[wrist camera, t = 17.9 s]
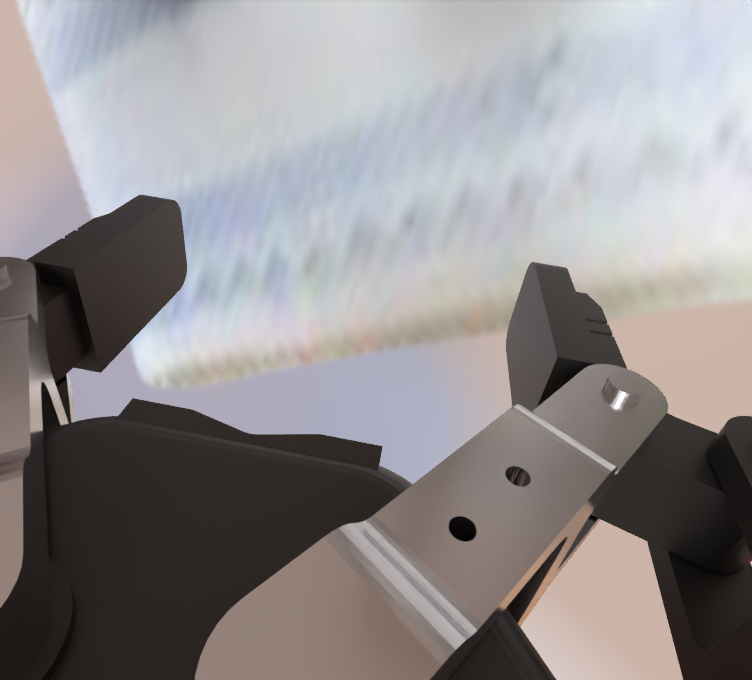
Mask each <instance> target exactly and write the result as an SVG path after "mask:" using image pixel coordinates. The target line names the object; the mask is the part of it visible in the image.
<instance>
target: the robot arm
mask: <svg viewBox="0 0 752 680" xmlns="http://www.w3.org/2000/svg"><path fill="white" fill-rule="evenodd" d="M186 273H187V260H186V252H185V243H184V234H183V226H182V217H181V211H180V207H179V205H178V203H177V202H176V201H174V200H170V199H164V198H158V197H152V196H146V195H139V196H137V197H135V198H134V199H132V200H130V201H129V202H127V203H126V204H124V205H123V206H121V207H119V208H118V209H116V210H115V211H113V212H111V213H110V214H107V215H104V216H100V217H97V218H94V219H92V220H90V221H89V222H87V223H86V224H84V225H82V226H81V227H79V228H78V231H76V230H74V231H73V232H71V233H69V234H68V235H67V236H65V239H60V240H58V241H56V242H55V243H53V244H52V245H50V246H48V247H47V248H45V249H43V250H42V251H40V252H39V253H37V254H35V255H34V256H33V257H31V258H29V259H27V260H23V259H19V258H13V257H0V680H556V679H555V677H554V676H553V674H552V673H551V671H550V670H549V669H548V667H547V665H546V664H545V663H544V661H543V660H542V658H541V657H540V655H539V654H538V653H537V651H536V650H535V648H534V647H533V645H532V644H531V642H530V641H529V639H528V638H527V637H526V635H525V633H524V632H523V631H522V630H521V628H520V626H521V625H522V623H523V622H524V621H525V619H526V618H527V617H528V615H529V613H530V612H531V611H532V609H533V608H534V607H535V605H536V604H537V602H538V601H539V599H540V598H541V596H542V595H543V593H544V592H545V590H546V589H547V588H548V586H549V585H550V583H551V582H552V581H553V580H554V578H555V577H556V576H557V575H558V573H559V572H560V571H561V569H562V568H563V567H564V566H565V564H566V563H567V562H568V560H569V559H570V558H571V557H572V555H573V554H574V552H575V551H576V550H577V549H578V548H579V546H580V545H581V544H582V542H583V541H584V540H585V538H586V537H587V536H588V535H589V533H590V532H591V531H592V530H593V528H594V527H595V526H596V524H597V523H598V522H599V520H600V519H601V520H604V521H606V522H608V523H610V524H612V525H614V526H616V527H618V528H621V529H623V530H625V531H627V532H629V533H631V534H634V535H635V536H638V537H640V538H642V539H644V540H646V541H648V546H649V550H650V554H651V557H652V561H653V565H654V569H655V573H656V577H657V580H658V584H659V588H660V592H661V596H662V600H663V604H664V607H665V611H666V615H667V619H668V623H669V627H670V630H671V634H672V638H673V642H674V645H675V649H676V653H677V657H678V661H679V664H680V669H681V672H682V676H683V680H752V567H751V564H750V562H751V561H752V417H751V416H738V417H734V418H731V419H730V420H728V421H727V423H726V424H725V426H724V427H723V428H722V430H721V431H720V432H719V434H717V433H715V432H712V431H709V430H707V429H704V428H701V427H699V426H696V425H694V424H691V423H689V422H686V421H683V420H681V419H678V418H676V417H674V416H672V415H670V414H668V413H667V411H668V403H667V400H666V398H665V396H664V395H663V393H662V392H661V391H660V390H659V389H658V387H656V386H655V385H654V384H653V383H652V382H650V381H649V380H648V379H646V378H645V377H643V376H641V375H639V374H637V373H635V372H633V371H631V370H628V369H627V367H626V365H625V362H624V360H623V358H622V356H621V353H620V351H619V348H618V346H617V344H616V341H615V339H614V337H612V332H611V329H610V327H609V325H607V320H606V318H605V315H604V313H603V310H602V308H601V307H600V306H599V305H598V304H597V303H596V302H595V301H594V300H593V299H592V298H590V297H589V296H588V295H587V294H586V293H580V292H576V291H575V289H574V286H573V283H572V280H571V277H570V275H569V272H568V269H567V268H564V267H559V266H553V265H547V264H541V263H535V262H532V263H531V264H530V265H529V267H528V269H527V272H526V274H525V277H524V281H523V284H522V287H521V290H520V293H519V296H518V299H517V302H516V305H515V308H514V311H513V314H512V317H511V320H510V324H509V328H508V333H507V339H506V352H507V361H508V370H509V379H510V388H511V397H512V406H513V407H512V408H510V409H509V410H508V411H507V412H505V413H504V414H503V415H501V416H500V417H499V418H497V419H496V420H495V421H494V422H492V423H491V424H490V425H489V426H487V427H486V428H485V429H483V430H482V431H481V432H479V434H477V435H476V436H474V437H473V438H472V439H470V440H469V441H468V442H467V443H466V444H464V445H463V446H462V447H460V448H459V449H458V450H456V451H455V452H454V453H453V454H451V455H450V456H449V457H447V458H446V459H445V460H444V461H442V462H441V463H440V464H438V465H437V466H436V467H435V468H433V469H432V470H431V471H429V472H428V473H427V474H426V475H424V476H423V477H422V478H420V479H419V480H418V481H417V482H415V483H414V484H411V483H410V482H408V481H407V480H405V479H404V478H402V477H401V476H399V475H397V474H395V473H394V472H392V471H390V470H388V469H386V468H383V467H381V466H379V462H380V457H381V451H382V446H378V445H373V444H367V443H362V442H357V441H352V440H347V439H341V438H336V437H331V436H326V435H321V434H298V435H297V434H293V435H292V434H290V435H289V434H287V435H285V434H284V435H255V434H248V433H245V432H243V431H240V430H238V429H236V428H233V427H231V426H229V425H226V424H224V423H222V422H220V421H217V420H215V419H213V418H210V417H208V416H206V415H203V414H201V413H199V412H196V411H194V410H191V409H185V408H180V407H175V406H170V405H165V404H160V403H154V402H149V401H144V400H139V399H134V398H133V399H132V400H131V401H130V403H129V404H128V405H127V406H126V407H125V409H124V410H123V411H122V412H121V414H120V415H119V416H110V417H99V418H92V419H86V420H80V421H76V420H75V411H74V404H73V403H74V402H73V394H72V386H71V382H70V379H69V376H68V372H69V371H70V370H71V369H72V368H73V367H74V368H79V369H85V370H90V371H95V372H102V371H103V369H105V368H106V367H107V366H108V364H109V363H110V362H111V361H112V360H113V359H114V358H115V357H116V356H117V355H118V354H119V353H120V352H121V351H122V350H123V349H124V348H125V347H126V345H127V344H128V343H129V342H130V341H131V340H132V339H133V338H134V337H135V336H136V335H137V334H138V333H139V332H140V331H141V330H142V329H143V328H144V327H145V326H146V325H147V324H148V322H149V321H150V320H151V319H152V318H153V317H154V316H155V315H156V314H157V313H158V312H159V311H160V310H161V309H162V308H163V307H164V306H165V305H166V304H167V303H168V301H169V300H170V299H171V298H172V297H173V296H174V295H175V294H176V293H177V292H178V291H179V290H180V289H181V287H182V286H183V283H184V281H185V278H186Z"/></svg>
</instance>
